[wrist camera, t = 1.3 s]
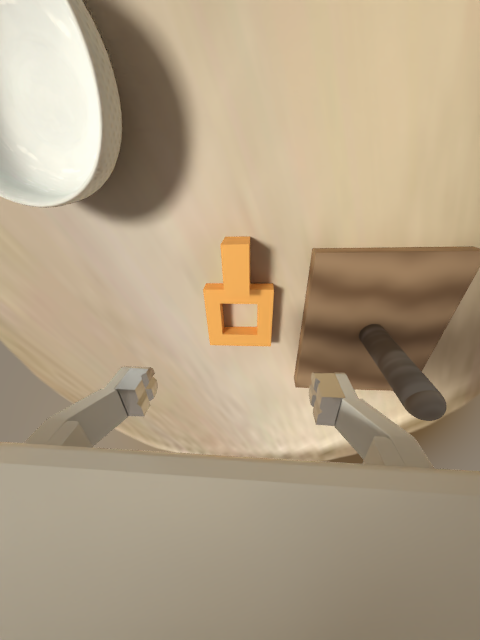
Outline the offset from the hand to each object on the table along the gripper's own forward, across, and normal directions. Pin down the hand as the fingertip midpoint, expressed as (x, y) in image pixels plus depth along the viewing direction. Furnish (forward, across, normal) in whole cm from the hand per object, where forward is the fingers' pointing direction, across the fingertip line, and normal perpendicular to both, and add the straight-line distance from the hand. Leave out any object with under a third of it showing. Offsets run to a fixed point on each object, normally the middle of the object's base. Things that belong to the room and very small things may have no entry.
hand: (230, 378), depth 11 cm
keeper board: (+20, -17, +8) cm, 28 cm away
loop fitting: (+20, +1, +3) cm, 20 cm away
